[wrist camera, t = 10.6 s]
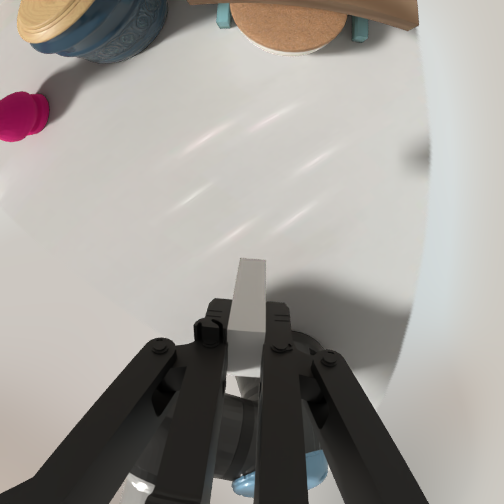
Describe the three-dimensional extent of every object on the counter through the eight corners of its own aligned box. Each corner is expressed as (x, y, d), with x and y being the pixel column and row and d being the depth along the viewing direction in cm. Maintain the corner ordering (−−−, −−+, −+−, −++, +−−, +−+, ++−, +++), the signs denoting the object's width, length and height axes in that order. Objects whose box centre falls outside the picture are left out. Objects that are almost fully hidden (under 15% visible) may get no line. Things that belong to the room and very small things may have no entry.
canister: (183, 33, 26) (113, -25, 10) (95, 83, 28) (-6, 79, 12) (155, -33, 20) (91, -95, 5) (75, 16, 23) (-12, -8, 7)
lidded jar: (278, -23, 22) (280, -62, 13) (349, 27, 24) (375, 1, 16) (218, 31, 25) (201, 3, 17) (291, 83, 28) (300, 69, 20)
